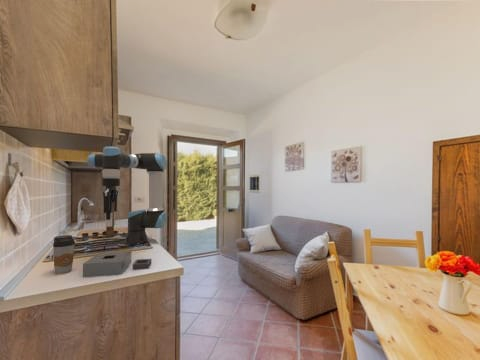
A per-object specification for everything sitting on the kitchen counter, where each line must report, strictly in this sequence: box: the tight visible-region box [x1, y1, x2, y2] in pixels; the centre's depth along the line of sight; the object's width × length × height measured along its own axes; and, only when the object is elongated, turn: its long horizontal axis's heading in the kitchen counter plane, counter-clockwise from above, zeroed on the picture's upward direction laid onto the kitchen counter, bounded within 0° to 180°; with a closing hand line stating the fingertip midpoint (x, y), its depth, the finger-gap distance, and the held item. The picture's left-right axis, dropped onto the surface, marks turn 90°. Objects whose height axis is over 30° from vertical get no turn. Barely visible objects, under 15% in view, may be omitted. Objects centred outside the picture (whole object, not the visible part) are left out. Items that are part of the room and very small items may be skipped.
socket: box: [131, 258, 152, 271], centre depth 111 cm, size 7×7×2 cm
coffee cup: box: [52, 237, 76, 275], centre depth 104 cm, size 8×8×15 cm
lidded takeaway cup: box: [52, 234, 73, 261], centre depth 124 cm, size 9×8×12 cm
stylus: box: [105, 202, 115, 239], centre depth 108 cm, size 3×3×17 cm
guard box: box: [82, 251, 132, 278], centre depth 107 cm, size 16×16×6 cm
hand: (110, 225), depth 108 cm, fingers closed on stylus, 3 cm apart
